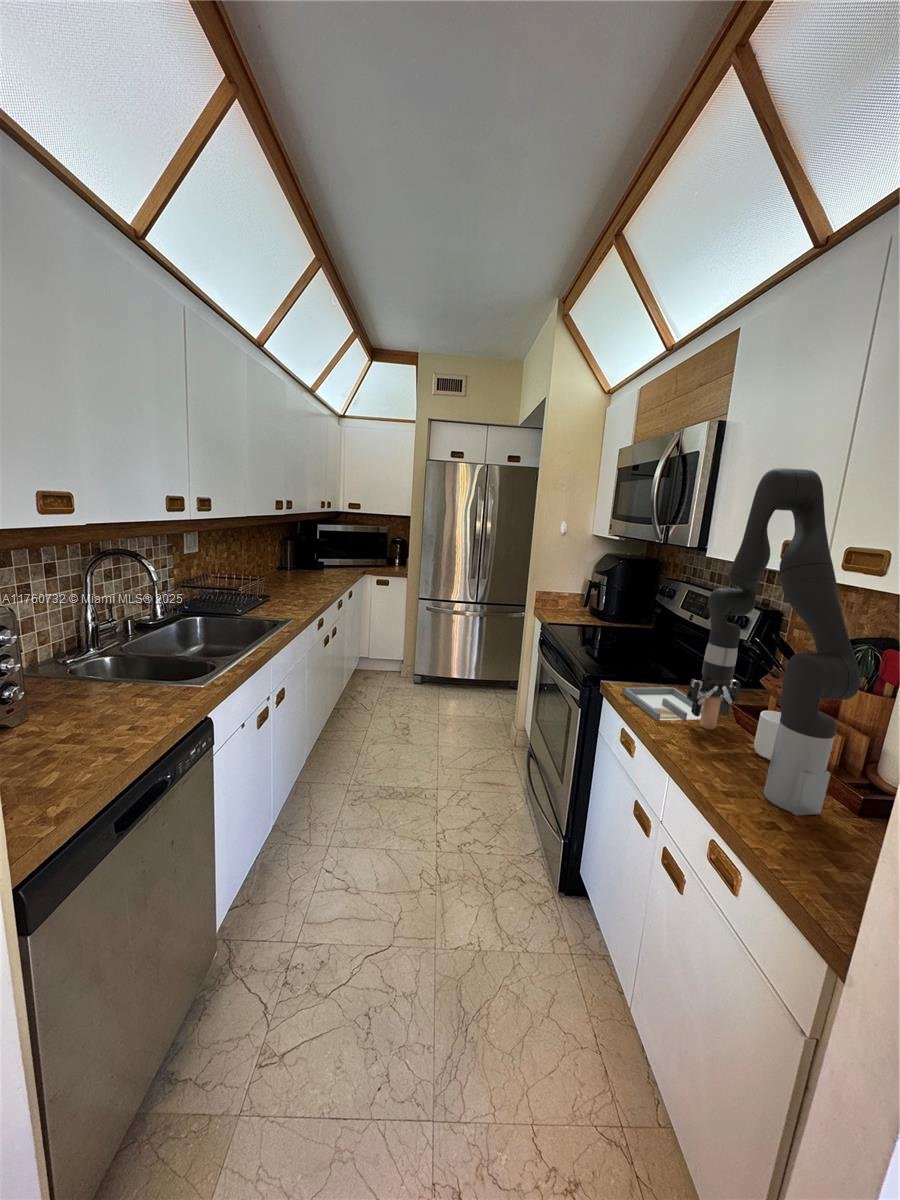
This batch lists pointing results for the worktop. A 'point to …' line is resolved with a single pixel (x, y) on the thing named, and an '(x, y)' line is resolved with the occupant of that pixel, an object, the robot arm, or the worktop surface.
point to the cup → (766, 733)
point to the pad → (666, 713)
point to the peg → (710, 712)
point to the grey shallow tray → (662, 701)
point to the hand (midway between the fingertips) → (709, 715)
